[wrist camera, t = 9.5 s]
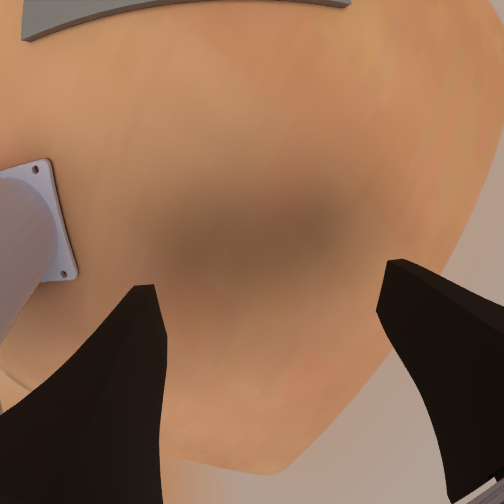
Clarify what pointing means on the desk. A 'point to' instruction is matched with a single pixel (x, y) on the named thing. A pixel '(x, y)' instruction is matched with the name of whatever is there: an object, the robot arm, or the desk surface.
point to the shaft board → (95, 12)
